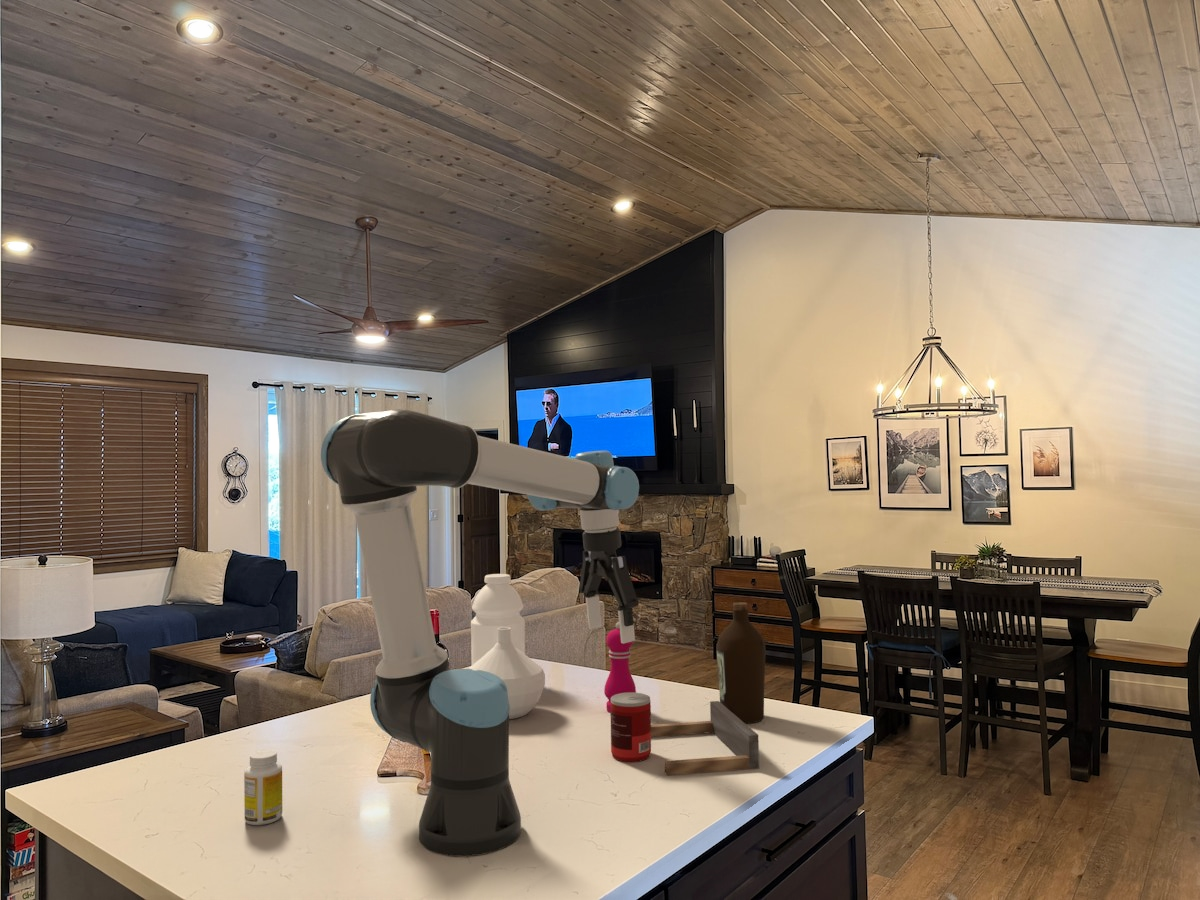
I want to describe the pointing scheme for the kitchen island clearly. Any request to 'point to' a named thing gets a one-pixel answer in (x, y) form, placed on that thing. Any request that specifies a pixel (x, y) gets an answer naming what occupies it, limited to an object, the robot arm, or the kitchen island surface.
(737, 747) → the guide lane
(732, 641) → the olive oil
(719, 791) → the kitchen island surface
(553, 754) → the kitchen island surface
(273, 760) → the supplement bottle
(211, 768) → the kitchen island surface
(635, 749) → the canned food
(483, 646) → the bottle
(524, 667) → the vase
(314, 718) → the kitchen island surface
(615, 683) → the pepper mill
